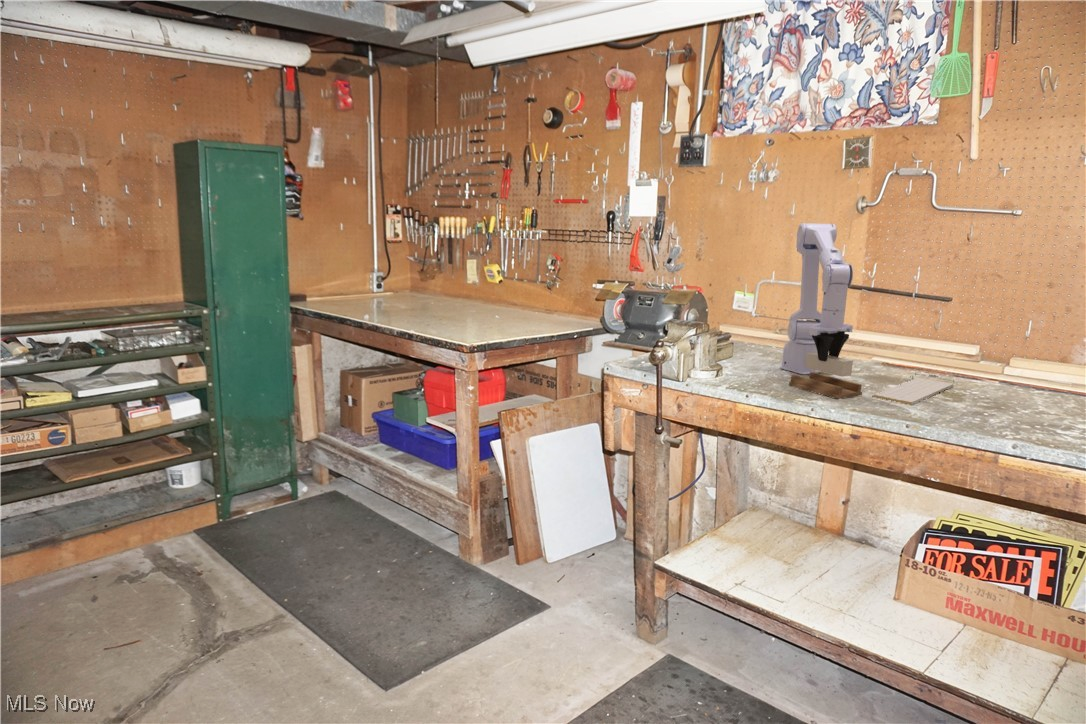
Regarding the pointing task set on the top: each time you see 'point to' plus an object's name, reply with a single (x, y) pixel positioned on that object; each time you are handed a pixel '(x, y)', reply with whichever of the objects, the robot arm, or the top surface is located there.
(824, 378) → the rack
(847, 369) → the beige rectangular block
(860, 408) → the top surface
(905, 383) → the baseboard
